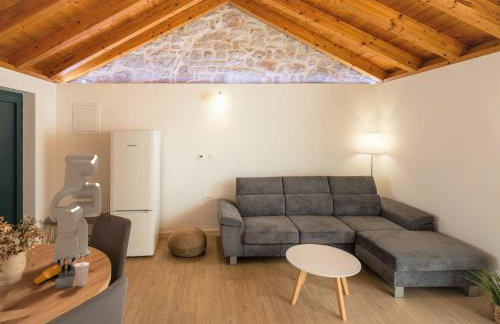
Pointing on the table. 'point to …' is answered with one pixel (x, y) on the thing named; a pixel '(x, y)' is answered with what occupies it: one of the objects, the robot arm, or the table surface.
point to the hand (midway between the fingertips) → (66, 272)
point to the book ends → (65, 278)
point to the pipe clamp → (48, 274)
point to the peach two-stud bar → (68, 261)
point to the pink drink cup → (81, 272)
